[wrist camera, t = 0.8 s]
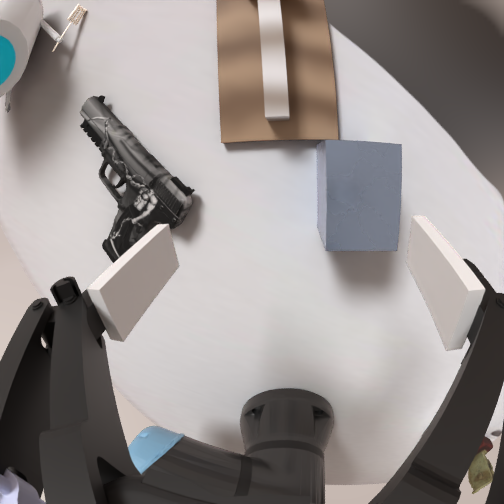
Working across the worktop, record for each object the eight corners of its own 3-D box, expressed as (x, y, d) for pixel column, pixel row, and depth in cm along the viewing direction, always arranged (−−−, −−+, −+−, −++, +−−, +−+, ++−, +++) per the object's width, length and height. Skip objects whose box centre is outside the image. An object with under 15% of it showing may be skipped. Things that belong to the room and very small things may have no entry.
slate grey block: (373, 227, 30) (396, 250, 22) (317, 227, 31) (325, 251, 23) (374, 146, 27) (401, 144, 19) (316, 144, 28) (325, 139, 20)
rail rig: (336, 140, 27) (347, 136, 21) (223, 143, 29) (207, 140, 23) (320, -12, 21) (324, -39, 15) (218, -6, 22) (204, -31, 17)
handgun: (41, 173, 30) (91, 88, 25) (57, 170, 33) (107, 91, 28) (125, 280, 33) (196, 203, 28) (139, 270, 36) (207, 197, 31)
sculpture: (462, 457, 44) (474, 496, 30) (452, 454, 43) (464, 497, 29) (489, 436, 40) (505, 475, 26) (481, 432, 40) (498, 474, 26)
